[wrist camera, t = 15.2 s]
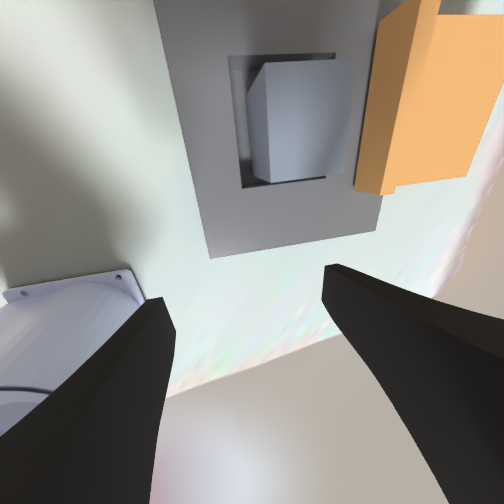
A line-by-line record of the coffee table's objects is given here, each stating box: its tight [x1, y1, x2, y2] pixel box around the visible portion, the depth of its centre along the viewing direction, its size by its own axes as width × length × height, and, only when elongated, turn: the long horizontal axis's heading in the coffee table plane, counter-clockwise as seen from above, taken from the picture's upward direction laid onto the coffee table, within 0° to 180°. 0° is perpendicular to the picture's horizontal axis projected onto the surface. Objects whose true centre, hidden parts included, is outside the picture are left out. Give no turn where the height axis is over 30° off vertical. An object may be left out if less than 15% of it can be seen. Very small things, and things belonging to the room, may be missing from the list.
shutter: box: [354, 0, 504, 196], centre depth 11 cm, size 9×8×2 cm
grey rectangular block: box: [246, 58, 357, 183], centre depth 11 cm, size 4×4×5 cm
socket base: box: [153, 0, 406, 259], centre depth 13 cm, size 14×16×3 cm
